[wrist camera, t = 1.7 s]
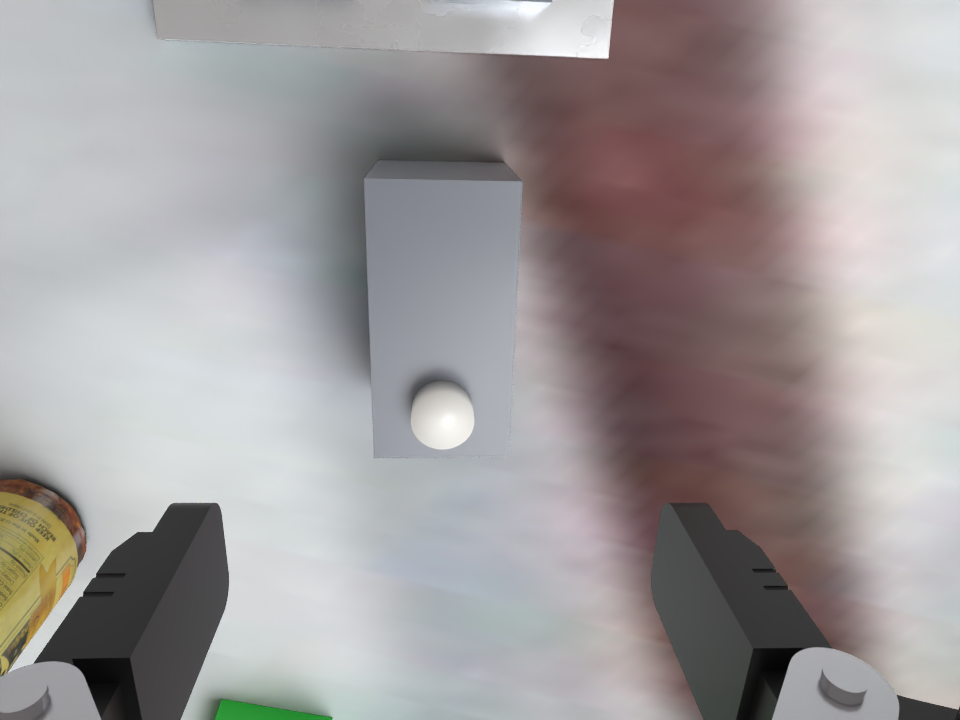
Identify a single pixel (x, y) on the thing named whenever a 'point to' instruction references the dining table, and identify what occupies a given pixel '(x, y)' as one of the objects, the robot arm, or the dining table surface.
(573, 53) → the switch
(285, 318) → the dining table surface
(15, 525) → the sauce bottle
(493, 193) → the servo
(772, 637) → the robot arm
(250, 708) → the mechanical part
